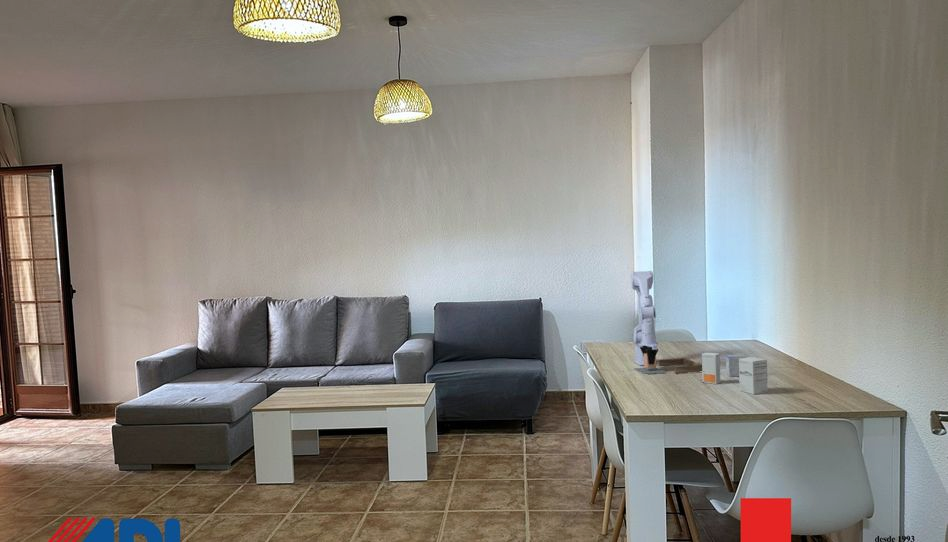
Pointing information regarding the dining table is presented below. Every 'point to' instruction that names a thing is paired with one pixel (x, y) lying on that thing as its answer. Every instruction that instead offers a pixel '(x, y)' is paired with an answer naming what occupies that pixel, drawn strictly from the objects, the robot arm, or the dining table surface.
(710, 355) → the skincare box
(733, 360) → the medicine box
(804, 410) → the dining table surface
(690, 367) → the open side frame
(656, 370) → the grey mat
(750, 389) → the supplement box
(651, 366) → the terracotta block
